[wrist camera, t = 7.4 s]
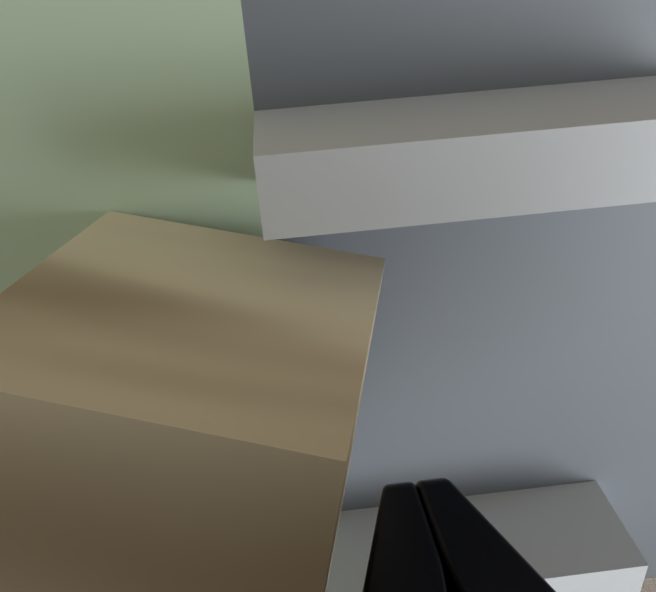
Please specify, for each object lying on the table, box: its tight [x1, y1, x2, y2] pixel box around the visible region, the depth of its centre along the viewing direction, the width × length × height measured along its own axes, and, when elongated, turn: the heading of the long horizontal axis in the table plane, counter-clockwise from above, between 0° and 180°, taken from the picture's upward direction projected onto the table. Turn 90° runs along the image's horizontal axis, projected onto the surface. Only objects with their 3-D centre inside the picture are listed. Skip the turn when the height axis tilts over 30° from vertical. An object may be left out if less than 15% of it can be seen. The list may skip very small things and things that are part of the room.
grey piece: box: [0, 0, 656, 592], centre depth 11 cm, size 14×24×5 cm, turn 94°
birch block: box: [0, 211, 386, 592], centre depth 8 cm, size 4×4×4 cm
